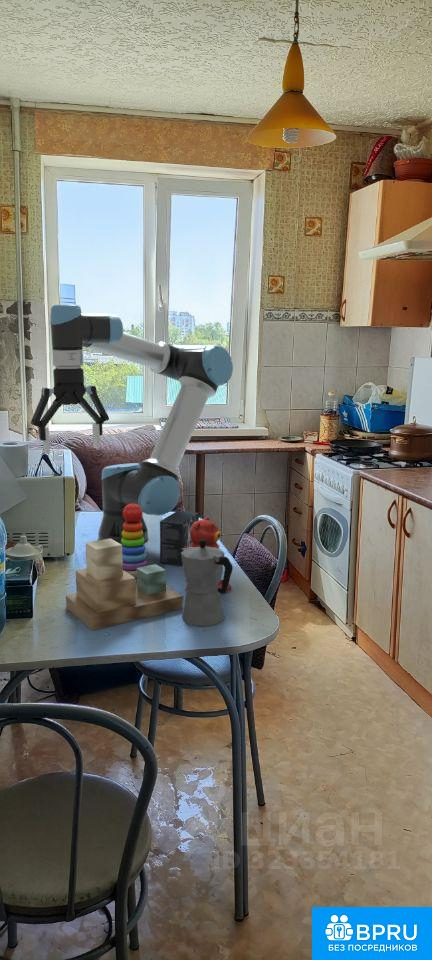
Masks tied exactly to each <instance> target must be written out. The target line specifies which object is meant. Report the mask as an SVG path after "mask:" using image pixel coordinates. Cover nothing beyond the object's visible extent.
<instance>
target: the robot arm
mask: <svg viewBox="0 0 432 960" xmlns="http://www.w3.org/2000/svg"><path fill="white" fill-rule="evenodd" d="M49 314H50V315H49V317H50V320H49V321H50V322H49V325H50V333H51V334H50V335H51V347H52V349H51V351H52V366H53V367H54V369H53V371H52V372H53V388H48V387H42V388H41V393H40V394H41V397H40V399H39V402H38V404H37V405H36V409H35V411H34V413H33V416H32V418H31V421H30V425H32V426H35V427H37V428H38V437H39V438H38V439H39V440H40V441H41V442H42V447H43V449H42V450H43V453H44V454H46V455H50V454H51V446H50V445H51V444H50V428H49V427H46V426H47V425H48V424H49V422H50V421H51V420H52V418H53V417H54V415H56V413H57V411H58V410H59V408H61V407H62V406H63V405H65V406H69V405H80V406H81V407H82V409H83V410H84V411H85V412H86V413H87V414H88V416H89V417H91V419H92V420H93V421H94V422H93V423H92V427H91V428H92V447H93V448H94V449H97V450H100V449H101V438H100V437H101V436H103V432H104V431H103V425H104V423H105V422H106V421H109V420H110V417H109V415H108V413H107V411H106V409H105V407H104V405H103V404H102V401H101V399H100V397H99V394H98V392H97V387H96V386H95V385H89V386H85V375H84V371H85V370H84V369H83V368H82V367H83V366H84V354H83V353H84V351H83V348H86V349H89V350H92V351H96V352H99V353H102V354H105V355H108V356H112V357H115V358H118V359H121V360H125V361H128V362H131V363H134V364H138V365H140V366H144V367H147V368H149V369H150V370H151V372H153V373H155V374H158V375H161V376H164V377H167V378H170V379H173V381H174V380H175V381H179V384H180V386H181V387H180V388H179V391H178V393H177V396H176V398H175V400H174V403H173V405H172V407H171V409H170V411H169V413H168V416H167V418H166V420H165V422H164V425H163V426H162V427H163V428H162V429H161V431H160V434H159V436H158V439H157V440H156V443H155V446H154V448H153V450H152V452H151V454H150V457H149V458H147V459H145V460H142V461H141V464H140V463H137V462H136V463H135V462H134V463H131V462H130V463H121V464H120V463H119V464H114V465H107V466H105V467H103V468H102V470H101V479H100V481H101V491H102V492H101V493H102V495H101V496H102V518H101V522H100V526H99V529H98V533H97V534H98V538H97V539H98V541H99V540H104V539H110V538H111V539H112V540H114V541H116V542H118V543H119V544H121V545H122V543H121V540H122V538H123V536H122V531H123V530H124V529H123V524H124V523H125V522H127V521H126V520H125V519H124V517H123V509H124V508H125V506H127V505H128V504H137V505H139V506H140V507H141V509H142V512H143V514H142V518H141V519H140V520H139V522H141V523H142V525H143V527H142V529H141V530H142V531H143V536H142V537H143V538H144V540H145V542H146V541H147V540H148V539H149V530H148V526H147V524H146V521H145V518H144V516H143V515H144V514H146V515H150V516H164V515H166V514H169V512H171V511H173V509H174V508H175V507H176V506H177V504H178V502H179V500H180V495H181V491H180V489H181V487H180V484H179V482H178V481H179V479H180V475H179V473H178V468H179V466H180V464H181V462H182V459H183V456H184V454H185V452H186V449H187V447H188V445H189V443H190V440H191V437H192V436H193V433H194V431H195V429H196V426H197V424H198V422H199V420H200V418H201V414H202V413H203V410H204V408H205V406H206V403H207V401H208V399H209V398H212V397H214V396H215V395H216V393H217V391H218V388H219V386H224V385H225V384H227V383H229V381H230V380H231V378H232V375H233V368H234V367H233V366H234V365H233V362H232V357H231V355H230V353H229V352H228V350H227V349H226V348H225V347H223V346H221V345H219V344H218V345H217V344H213V343H209V344H172V343H168V342H164V341H159V342H154V341H152V340H149V339H146V338H142V337H139V336H136V335H133V334H130V333H128V332H124V330H123V329H124V328H123V327H124V325H123V321H122V319H121V318H120V317H119V316H118V315H116V314H111V313H85V312H84V313H83V312H82V309H81V306H80V305H79V304H54V305H52V306H51V307H50V313H49ZM86 393H87V395H88V396H89V397H90V399H91V402H92V403H93V406H94V407H95V409H96V411H97V412H96V411H95V410H94V408H93V407H92V406H91V405H90V404H89V403H88V401H87V400H86V398H85V397H84V396H85V394H86ZM52 394H53V395H54V397H55V398H54V400H53V401H52V403H51V405H50V406H49V407H48V409H47V410H46V407H47V406H48V405H47V404H48V402H49V399H50V398H51V396H52ZM45 410H46V412H45V414H44V411H45ZM43 414H44V415H43Z"/></svg>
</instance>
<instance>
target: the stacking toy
mask: <svg viewBox="0 0 432 960" xmlns="http://www.w3.org/2000/svg"><path fill="white" fill-rule="evenodd" d="M142 515H144V512H142V509H141V507H140V506H139V505H137V504H128V505H127V506H125V508H124V509H123V517H124V519H125V520H126V521H127V522H125V523H124V524H123V529H124V530H123V531H122V536H123V538H122V540H121V543H122V560H123V571H125V572H127V573H128V574H130V575H131V576H133V577H135V579H137V568H139V567H144V566H148V561H147V559H146V558H147V556H148V555H147V553H146V546H145V542H146V541H145V540H144V538H143V537H142V536H143V531H142V530H141V529H142V527H143V525H142V523H141V522H139V520H140V519H141V518H142Z"/></svg>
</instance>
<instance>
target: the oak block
mask: <svg viewBox="0 0 432 960" xmlns="http://www.w3.org/2000/svg"><path fill="white" fill-rule="evenodd" d="M85 560H86V562H85V563H86V568H87V573H88V574H89V575H90V576H92V577H93V578H95V579H96V580H97V581H98V580H103V579H108V578H113V577H118V576H123V560H122V545H121V544H119V543H118V542H116V541H114V540H112V539H111V538H110V539H104V540H99V539H98V540H94V541H88V542H85Z"/></svg>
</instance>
